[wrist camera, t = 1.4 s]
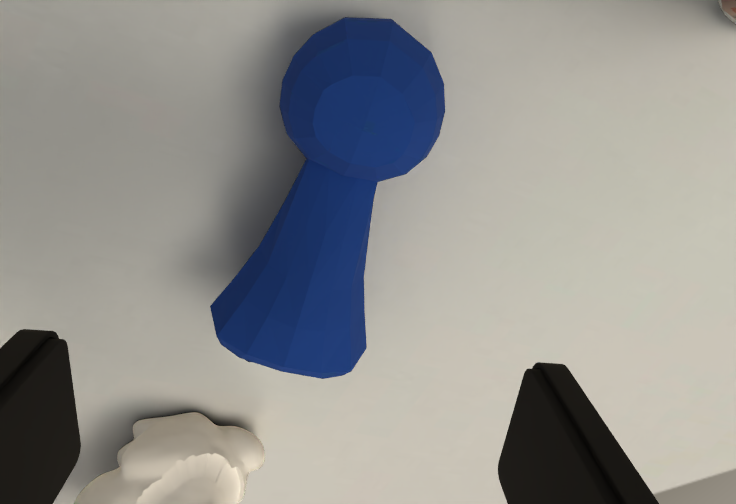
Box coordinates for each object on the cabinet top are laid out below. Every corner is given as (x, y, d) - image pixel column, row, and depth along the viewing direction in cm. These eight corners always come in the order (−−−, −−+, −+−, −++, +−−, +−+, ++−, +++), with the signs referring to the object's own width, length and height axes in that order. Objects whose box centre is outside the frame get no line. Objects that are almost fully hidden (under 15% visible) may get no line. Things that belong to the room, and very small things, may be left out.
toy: (348, 341, 27) (468, 48, 21) (348, 433, 21) (513, 69, 15) (217, 306, 26) (303, -16, 19) (180, 394, 20) (286, -20, 14)
